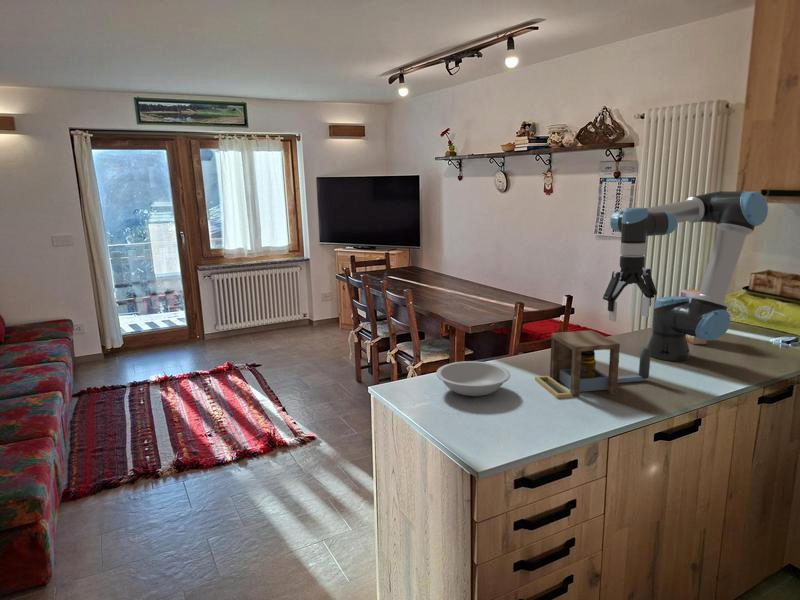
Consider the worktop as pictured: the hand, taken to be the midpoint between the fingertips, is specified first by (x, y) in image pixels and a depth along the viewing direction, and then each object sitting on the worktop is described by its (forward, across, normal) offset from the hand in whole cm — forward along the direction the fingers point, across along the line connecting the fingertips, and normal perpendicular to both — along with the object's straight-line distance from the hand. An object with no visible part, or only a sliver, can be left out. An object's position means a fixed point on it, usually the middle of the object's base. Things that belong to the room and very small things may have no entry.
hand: (628, 318), depth 181 cm
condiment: (+22, +17, -1) cm, 28 cm away
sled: (+21, +8, +1) cm, 23 cm away
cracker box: (+23, -59, -27) cm, 69 cm away
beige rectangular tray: (+21, +28, -2) cm, 35 cm away
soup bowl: (+21, +53, -10) cm, 58 cm away
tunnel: (+21, +18, -1) cm, 28 cm away
